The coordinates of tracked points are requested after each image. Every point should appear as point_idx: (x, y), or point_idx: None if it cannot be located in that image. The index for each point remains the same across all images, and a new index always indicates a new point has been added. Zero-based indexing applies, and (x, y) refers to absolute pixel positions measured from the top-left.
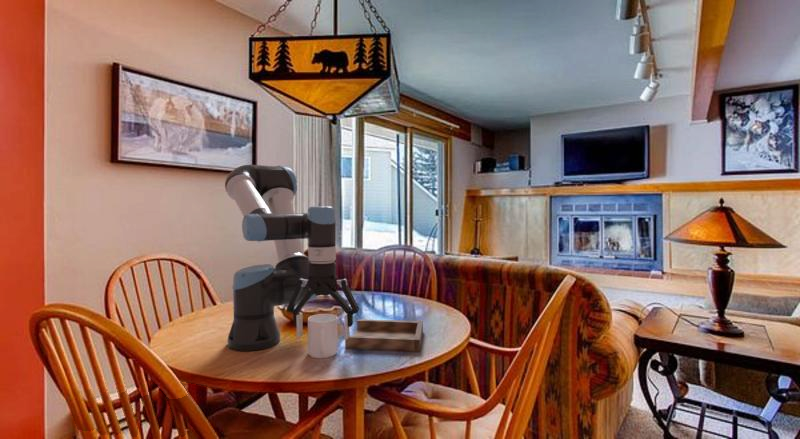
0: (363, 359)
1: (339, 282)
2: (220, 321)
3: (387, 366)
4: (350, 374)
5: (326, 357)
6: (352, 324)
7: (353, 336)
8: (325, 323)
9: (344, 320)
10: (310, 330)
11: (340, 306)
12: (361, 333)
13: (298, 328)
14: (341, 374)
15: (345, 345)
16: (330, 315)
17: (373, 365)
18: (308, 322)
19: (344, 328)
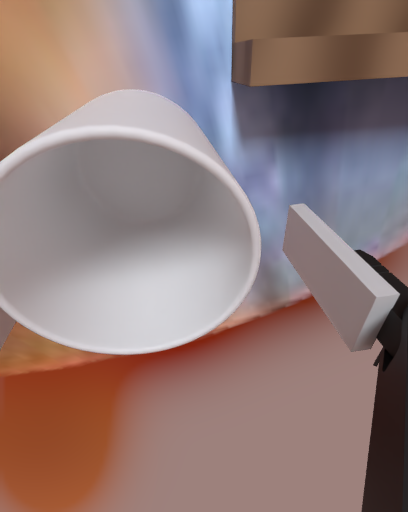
0: (322, 193)
1: None
2: None
3: (392, 228)
4: (285, 293)
5: (179, 211)
6: (365, 255)
7: (304, 61)
8: (197, 328)
9: (333, 324)
10: (93, 298)
11: (370, 436)
12: None
13: (12, 322)
14: (261, 298)
15: (237, 81)
16: (152, 141)
17: (351, 231)
18: (53, 322)
19: (307, 286)
